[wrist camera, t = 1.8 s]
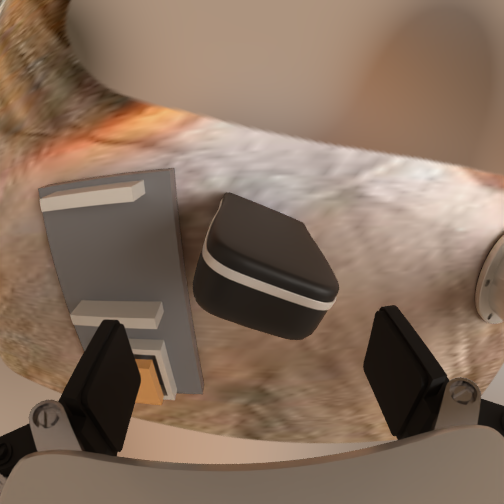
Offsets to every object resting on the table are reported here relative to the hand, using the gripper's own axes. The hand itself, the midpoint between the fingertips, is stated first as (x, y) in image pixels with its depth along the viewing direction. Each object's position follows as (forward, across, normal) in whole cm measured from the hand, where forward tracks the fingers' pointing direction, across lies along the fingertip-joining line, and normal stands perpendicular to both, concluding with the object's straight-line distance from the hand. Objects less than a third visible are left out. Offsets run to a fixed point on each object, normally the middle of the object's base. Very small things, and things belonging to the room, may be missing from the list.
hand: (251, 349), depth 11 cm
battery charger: (+14, -1, 0) cm, 14 cm away
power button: (+11, +11, +13) cm, 20 cm away
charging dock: (+14, +11, +6) cm, 19 cm away
